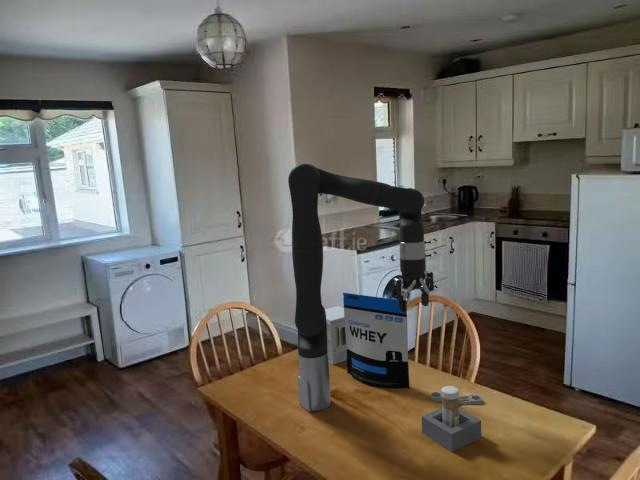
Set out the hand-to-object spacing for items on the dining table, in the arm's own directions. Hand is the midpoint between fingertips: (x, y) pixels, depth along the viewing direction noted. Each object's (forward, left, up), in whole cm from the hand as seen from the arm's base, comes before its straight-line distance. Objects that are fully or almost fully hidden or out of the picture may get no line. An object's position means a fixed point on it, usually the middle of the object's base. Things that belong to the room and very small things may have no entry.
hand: (414, 308), depth 146 cm
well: (-6, -20, -30) cm, 36 cm away
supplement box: (0, +46, -30) cm, 55 cm away
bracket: (+10, -7, -31) cm, 33 cm away
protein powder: (-1, +19, -30) cm, 36 cm away
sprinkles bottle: (-6, -19, -30) cm, 36 cm away
